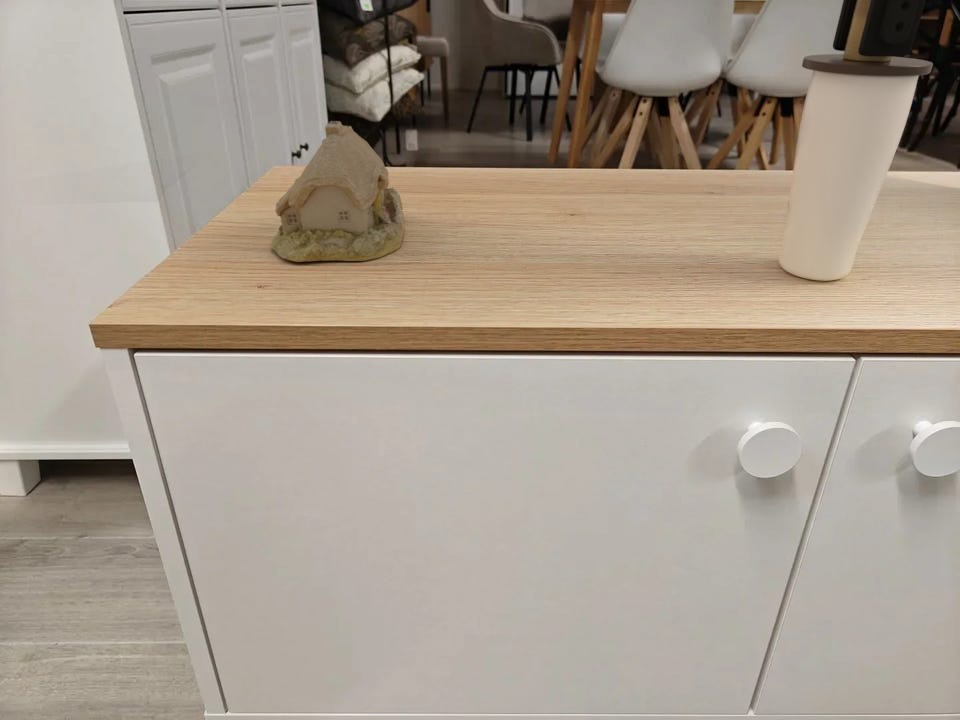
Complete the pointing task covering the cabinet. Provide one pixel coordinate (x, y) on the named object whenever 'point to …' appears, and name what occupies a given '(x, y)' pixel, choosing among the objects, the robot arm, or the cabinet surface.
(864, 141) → the drinking glass
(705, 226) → the cabinet surface
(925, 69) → the lid
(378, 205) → the ceramic model
